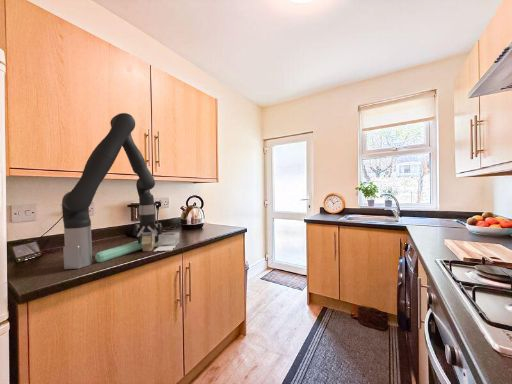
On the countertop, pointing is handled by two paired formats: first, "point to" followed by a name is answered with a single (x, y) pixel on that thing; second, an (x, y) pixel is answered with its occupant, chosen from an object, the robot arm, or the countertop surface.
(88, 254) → the robot arm
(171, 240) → the keyway block
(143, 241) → the key peg
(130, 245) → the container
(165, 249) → the pad
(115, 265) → the countertop surface
